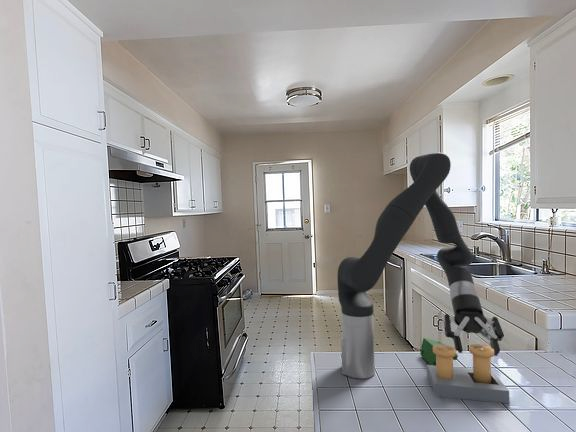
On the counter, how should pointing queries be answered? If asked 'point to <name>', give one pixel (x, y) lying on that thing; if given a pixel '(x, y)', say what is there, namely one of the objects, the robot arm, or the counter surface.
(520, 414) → the counter surface
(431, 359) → the clamp
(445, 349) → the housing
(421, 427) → the counter surface
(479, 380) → the tan peg
